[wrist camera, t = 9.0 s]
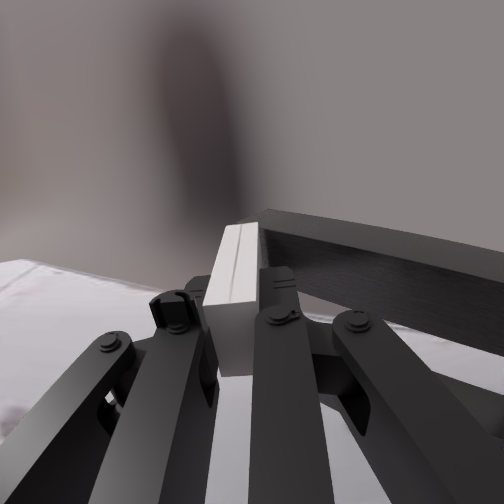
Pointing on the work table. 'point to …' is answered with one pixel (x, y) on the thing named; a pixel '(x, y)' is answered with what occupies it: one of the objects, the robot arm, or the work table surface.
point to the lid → (392, 274)
